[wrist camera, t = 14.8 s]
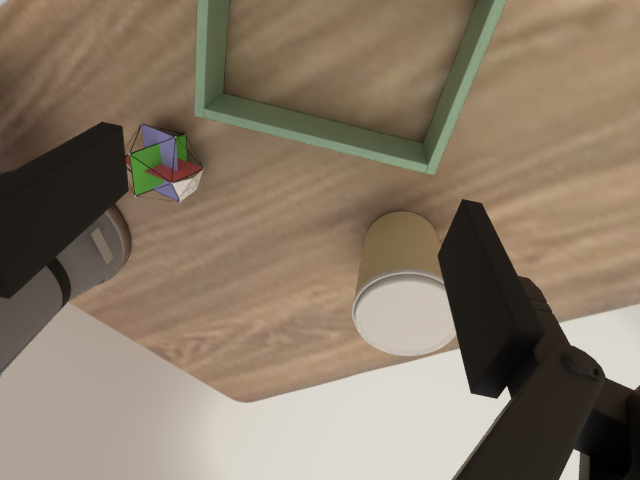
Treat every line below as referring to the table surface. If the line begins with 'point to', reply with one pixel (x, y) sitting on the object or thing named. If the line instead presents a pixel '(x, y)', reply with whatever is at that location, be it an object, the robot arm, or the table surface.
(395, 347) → the tan lidded canister
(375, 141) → the organizer bin
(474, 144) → the table surface
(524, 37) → the table surface
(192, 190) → the geometric puzzle
